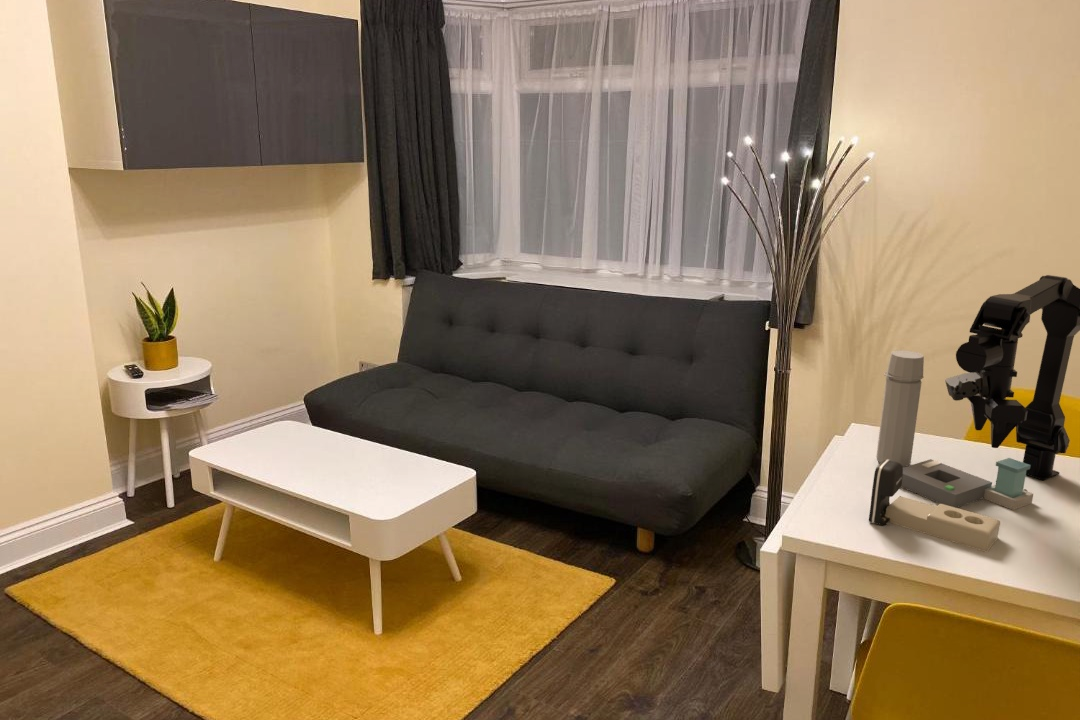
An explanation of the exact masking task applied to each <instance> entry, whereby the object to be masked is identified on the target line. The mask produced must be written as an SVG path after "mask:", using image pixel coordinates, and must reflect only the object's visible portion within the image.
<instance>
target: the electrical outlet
mask: <svg viewBox="0 0 1080 720" xmlns="http://www.w3.org/2000/svg"><path fill="white" fill-rule="evenodd" d="M886 515H887V516H888V518H890V521H889V522H888V523H890V524H894V525H897V526H900V527H904V528H907V529H911V530H914V531H916V532H920V533H923V534H927V535H930V536H933V537H937V538H940V539H944V540H946V541H949V542H951V543H952V542H953V543H955V544H959V545H963V546H965V547H969V548H973V549H976V550H978V551H983V552H988V551H989V550H990V548H992V546H993V545H995V542H997V540H998V539H999V533H1000V526H1001V521H1000V520H999V519H997V518H994V517H990V516H987V515H984V514H980V513H976V512H972V511H969V510H966V509H962V508H960V507H958V508H955V507H952V506H948V505H944V504H940V503H939V504H938V505H934V504H931V503H930V504H929V503H926V502H923V501H919V500H917V499H912V498H910V497H905V496H902V495H899V496H898V497H896V499H894V500H893V501H892V502H890V505H889V506H888V507H887V508H886ZM885 517H886V516H885Z"/></svg>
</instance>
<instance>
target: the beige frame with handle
mask: <svg viewBox="0 0 1080 720" xmlns="http://www.w3.org/2000/svg"><path fill="white" fill-rule="evenodd" d="M995 485H996V484H994V485H992V487H990V488H987V489H985V492H984V498H983V499H984V500H987V501H990V502H991V503H994V504H997V505H1000V506H1002V507H1005V508H1007V509H1010V510H1013V511H1014V510H1017V509H1020V508H1023V507H1025V506H1028V505H1031V504H1032V503H1033V499H1034V493H1032V492H1030V491H1028V490H1027V489H1024V488H1023V493H1022V495H1021V496H1018V497H1015V498H1011V497H1009V496H1006V495H1003V494H1001V493H998V492H996V491H995Z"/></svg>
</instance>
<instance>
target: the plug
mask: <svg viewBox="0 0 1080 720" xmlns="http://www.w3.org/2000/svg"><path fill="white" fill-rule="evenodd" d="M995 466H996V467H997V468H998V469H997V472H996V473H997V474H996V478H995V479H996V481H995V484H994V485H995V491H996V492H998V493H1001V494H1003V495H1006V496H1009V497H1011V498H1015V497H1018V496H1021V495H1022V493H1023V490H1024V487H1025V480H1026V476H1027V475H1026V471H1027V470H1028V469H1030V466H1031V465H1029V464H1026V463H1023V461H1019V460H1017V459H1015V458H1011V457H1007V458H1004V459H1002V460H998V461H996V462H995Z"/></svg>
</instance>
